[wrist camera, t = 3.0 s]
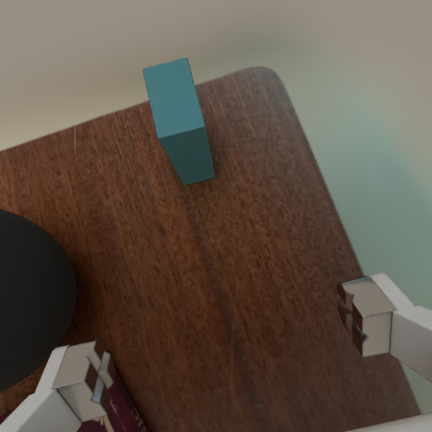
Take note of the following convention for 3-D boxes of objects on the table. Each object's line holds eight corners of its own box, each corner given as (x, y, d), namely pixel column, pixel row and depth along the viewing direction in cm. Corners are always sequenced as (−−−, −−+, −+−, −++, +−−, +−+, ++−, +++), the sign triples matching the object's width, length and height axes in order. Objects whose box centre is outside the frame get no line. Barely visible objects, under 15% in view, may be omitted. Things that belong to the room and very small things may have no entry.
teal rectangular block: (203, 128, 30) (187, 56, 21) (215, 177, 29) (205, 126, 20) (172, 136, 30) (142, 68, 21) (183, 185, 29) (157, 138, 20)
